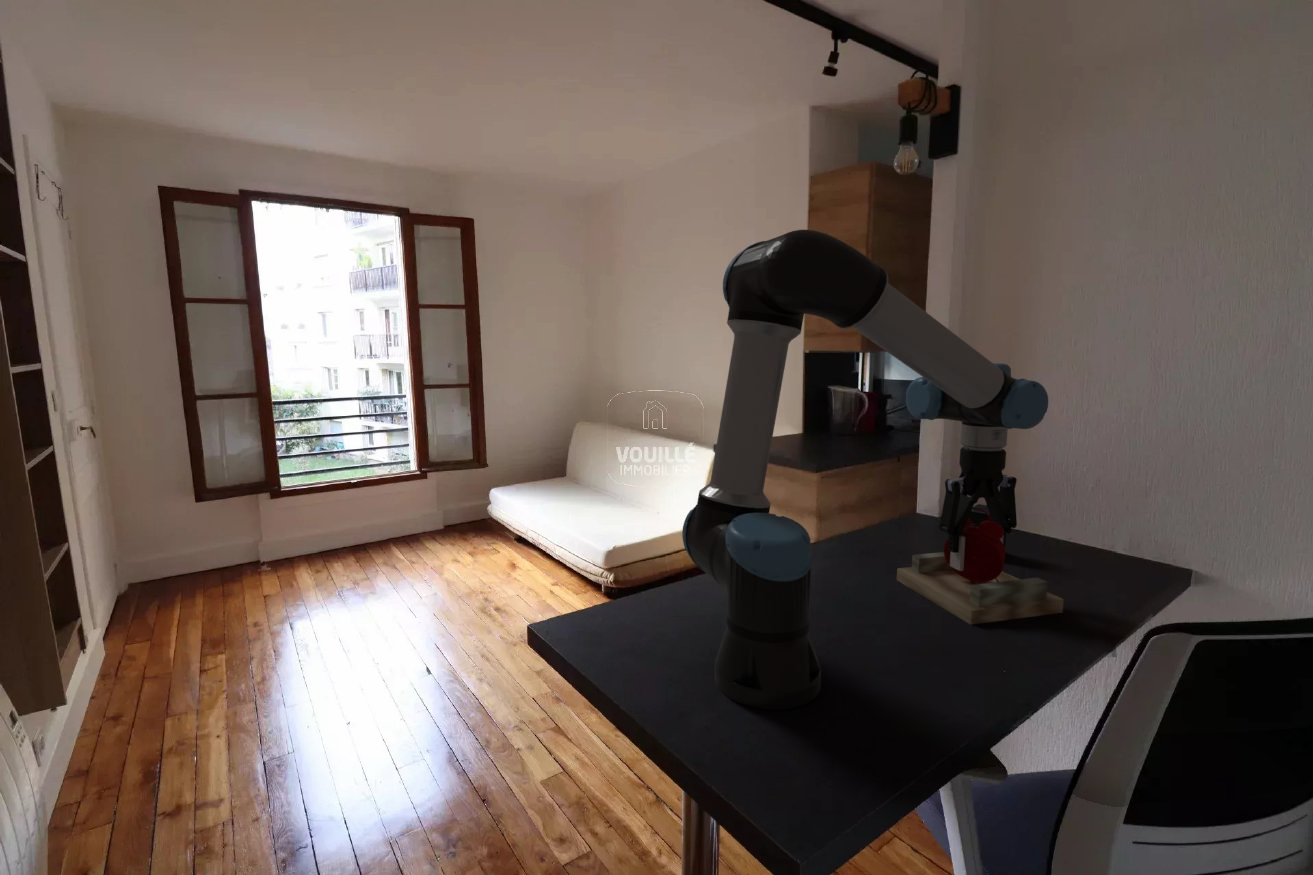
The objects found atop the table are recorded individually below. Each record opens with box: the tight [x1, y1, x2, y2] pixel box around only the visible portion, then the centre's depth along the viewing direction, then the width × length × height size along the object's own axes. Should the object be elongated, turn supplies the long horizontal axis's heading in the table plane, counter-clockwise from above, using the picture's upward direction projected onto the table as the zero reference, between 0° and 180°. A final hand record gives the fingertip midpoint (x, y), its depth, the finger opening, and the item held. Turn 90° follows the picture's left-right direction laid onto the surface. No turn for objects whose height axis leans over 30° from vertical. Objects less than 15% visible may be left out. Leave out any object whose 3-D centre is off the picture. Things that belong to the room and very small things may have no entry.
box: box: [966, 503, 992, 528], centre depth 140 cm, size 8×6×11 cm
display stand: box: [896, 551, 1065, 626], centre depth 116 cm, size 19×21×6 cm
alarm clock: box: [943, 508, 1006, 584], centre depth 115 cm, size 10×6×15 cm, turn 45°
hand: (975, 565), depth 116 cm, fingers closed on alarm clock, 8 cm apart
